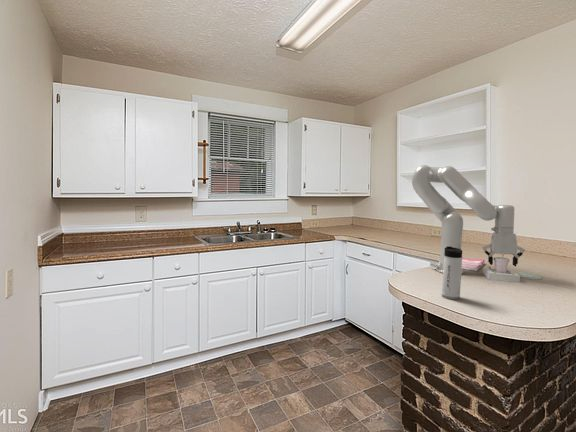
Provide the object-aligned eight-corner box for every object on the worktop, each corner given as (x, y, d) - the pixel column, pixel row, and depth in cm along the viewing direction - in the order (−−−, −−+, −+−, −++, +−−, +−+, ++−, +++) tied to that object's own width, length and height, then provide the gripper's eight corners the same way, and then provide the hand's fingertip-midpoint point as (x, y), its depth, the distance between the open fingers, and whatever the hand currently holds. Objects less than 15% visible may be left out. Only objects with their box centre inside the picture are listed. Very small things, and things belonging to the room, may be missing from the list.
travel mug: (453, 294, 123) (456, 246, 121) (463, 300, 116) (466, 249, 114) (438, 294, 123) (440, 246, 121) (447, 300, 116) (450, 249, 114)
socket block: (489, 279, 144) (489, 271, 143) (483, 273, 155) (483, 265, 155) (519, 282, 139) (519, 274, 139) (510, 275, 150) (511, 267, 150)
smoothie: (501, 279, 143) (503, 251, 142) (489, 276, 149) (491, 248, 148) (511, 279, 145) (513, 250, 144) (499, 275, 151) (500, 248, 150)
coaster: (520, 278, 147) (520, 276, 147) (513, 272, 156) (513, 271, 156) (545, 280, 143) (545, 279, 143) (536, 275, 152) (536, 273, 152)
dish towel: (485, 264, 175) (485, 258, 175) (477, 272, 158) (477, 266, 157) (453, 260, 186) (453, 254, 186) (442, 266, 169) (442, 260, 169)
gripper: (485, 230, 145) (483, 265, 146) (528, 232, 138) (526, 268, 140) (481, 229, 152) (480, 262, 153) (522, 230, 145) (521, 264, 147)
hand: (502, 264), depth 146 cm, fingers open, 9 cm apart
